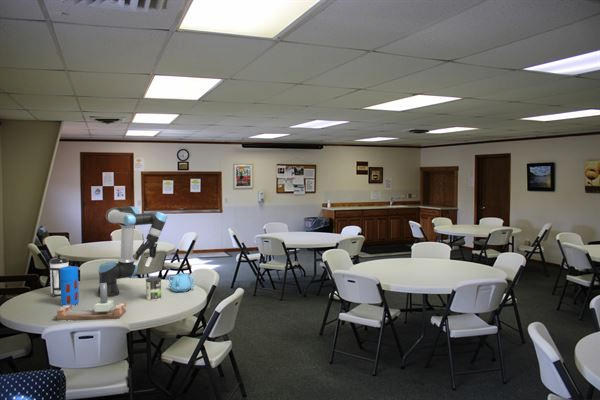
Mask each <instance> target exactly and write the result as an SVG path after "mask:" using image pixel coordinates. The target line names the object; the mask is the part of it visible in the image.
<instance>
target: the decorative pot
mask: <svg viewBox="0 0 600 400" xmlns="http://www.w3.org/2000/svg"><path fill="white" fill-rule="evenodd" d="M172 278H173V279H172ZM171 279H172V280H171ZM168 282H169V284H168V286H167V287H168V288H170V289H171V290H172V291H173V293H177V292H183V293H186V292H187V291H190V290H191V289H192V288H194V287H195V284H194V277H193V276H192V275H189V274H187V273H184V272H179V273H177V274H176V275H170V276H169V277H168Z"/></svg>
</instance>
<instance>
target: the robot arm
mask: <svg viewBox="0 0 600 400" xmlns="http://www.w3.org/2000/svg"><path fill="white" fill-rule="evenodd" d="M105 213H106V214H105V219H106V221H108V222H109V223H111V224H119V226H120V227H121V231H120V232H121V235H120V236H121V237H120V238H121V239H120V258H118V262H116V261H107V262H103V263H101V264H100V265H99V267H98V278H99V279H98V280H99V282H98V283H99V286H98V289H97V293H96V296H97V297H98V298H100V283H107V298H111V297H115V296H119V295H120V294H121V293H120V288H119V286H118V284H117V283H118V282H117V280H121V279H125V278H131V277H135V276H136V274H137V272H138V269H139V267H138V265H139V262H140V260H141V258H142V255H143V253H145V252H146V251H147V250H148V251H149V256H148V257H147V259H146V262H145V265H144V266H145V267H148V268H149V267H150V266H151V263H152V260H153V259H154V258H156V254H157V248H158V247H157V246H158V241H159V238H160V236H161V234H162V231H163V229H164V227H165V225H166V222H167V220H168V215H167V214H166V213H163V212H160V211H157V212H156V213H155V212H154V211H153V212H152V211H147V212H145V213H144V212H143V213H140V212H139V210H138V208H137V207H136V206H130V205H129V206H118V207H117V206H115V207H111V208H110V209H108V210H107V211H106V212H105ZM145 225H151V226H150V228H149V230H148V234H147V235H146V237H145V239H146V240H142V243H141V244H140V245H139V247H138V249H136V251H135V255H136V257H135V258H134V235H135V232H134V231H135V230H134V229H135V227H136V226H145Z"/></svg>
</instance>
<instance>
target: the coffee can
mask: <svg viewBox="0 0 600 400" xmlns="http://www.w3.org/2000/svg"><path fill="white" fill-rule="evenodd" d="M145 289H146V291H145V292H146V295H145V296H146V299H145V300H146V301H149V302H150V301H152V302H153V301H159V300H161V299H162V278H161V277H149V278H146V279H145Z"/></svg>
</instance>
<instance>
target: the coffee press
mask: <svg viewBox="0 0 600 400" xmlns="http://www.w3.org/2000/svg"><path fill="white" fill-rule="evenodd" d="M69 261H70V260H69V259H68V258H67V257H65V256H62V257H61V254H59V253H58V254H57V257H54V258H51V259H50V260H49V262H48V264H49V273H50V274H49V277H50V293H51V296H53V295H55V296H56V295H61V286H60V268H63V267H70V266H69V263H70V262H69Z"/></svg>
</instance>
